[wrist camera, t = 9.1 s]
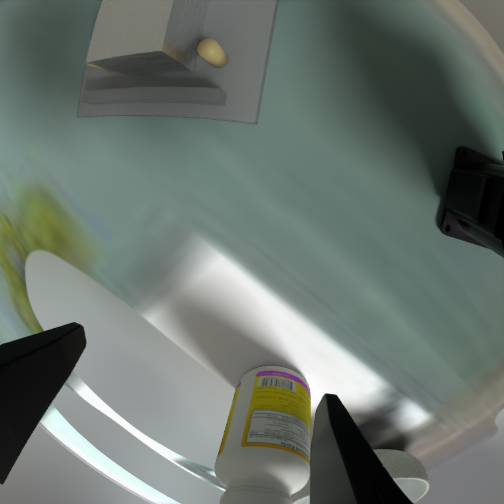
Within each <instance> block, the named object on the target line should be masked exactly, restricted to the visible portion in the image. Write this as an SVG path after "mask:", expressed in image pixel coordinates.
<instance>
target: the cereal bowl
mask: <svg viewBox="0 0 504 504" xmlns="http://www.w3.org/2000/svg"><path fill="white" fill-rule="evenodd" d="M373 450H374V452H375V453H376V455H377V456H378V458H379V459H380V461H381V462H382V464H383V467H385V468H386V470H387V471H388V473H389V474H390V476H391V477H392V478H393V480H394V481H395V482H396V484H397V485H398V486H399V487H400V489H401V490H402V491H403V492H404V494H405V495H406V496H407V497H408V498H409V499H410V500H411V501H412V503H415V502H416V501H418V500H419V499H420V498H422V497H423V496H424V495H425V494H426V492H427V491H428V489H429V479H428V475H427V473H426V469H425V468H424V466H423V465H422V463H421V462H420V461H419V460H418V459H417V458H416V457H414V456H412V455H411V454H409V453H405V452H403V451H398V450H391V449H373ZM290 498H291V499H292V502H293V504H309V503H310V475H309V479H308V481H307V483H306V485H305V486H304V487H303V488H302V489H301V490H299V491H298V492H296V493H294V494H291V497H290Z"/></svg>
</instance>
